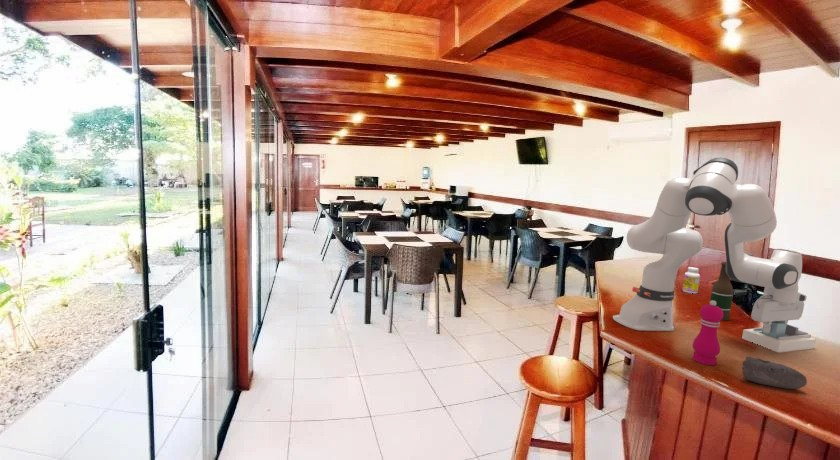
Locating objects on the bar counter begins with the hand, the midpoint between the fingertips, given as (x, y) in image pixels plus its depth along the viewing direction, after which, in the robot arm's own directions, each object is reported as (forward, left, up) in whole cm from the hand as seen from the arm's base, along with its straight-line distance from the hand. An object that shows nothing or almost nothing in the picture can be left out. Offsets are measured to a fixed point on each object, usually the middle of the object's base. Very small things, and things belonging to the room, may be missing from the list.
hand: (773, 331), depth 147 cm
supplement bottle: (+32, +60, -5) cm, 68 cm away
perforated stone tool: (-34, -22, -5) cm, 41 cm away
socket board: (+3, 0, -5) cm, 6 cm away
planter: (+130, +106, -5) cm, 168 cm away
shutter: (+9, 0, -1) cm, 9 cm away
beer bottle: (+8, +26, -5) cm, 28 cm away
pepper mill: (-39, -6, -5) cm, 40 cm away
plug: (0, 0, -2) cm, 2 cm away
